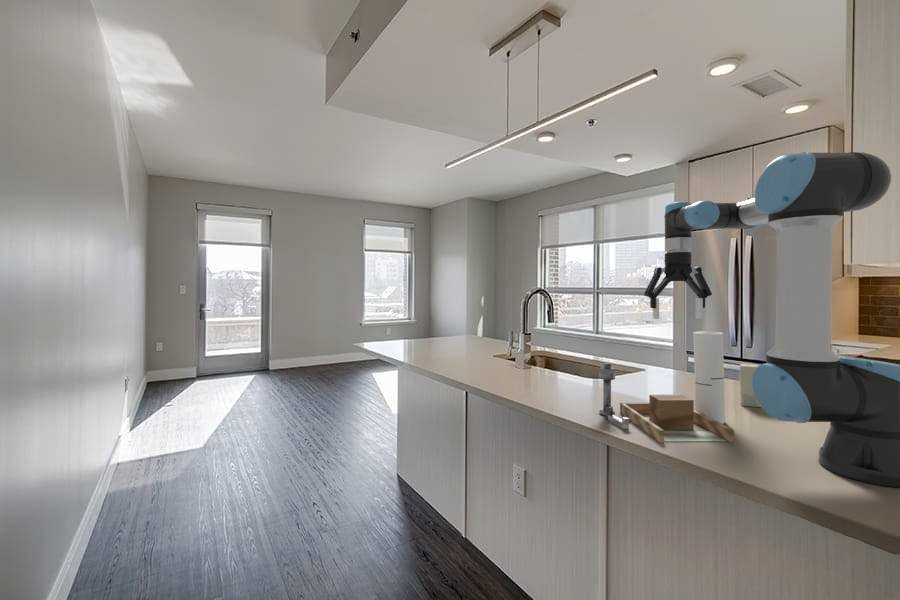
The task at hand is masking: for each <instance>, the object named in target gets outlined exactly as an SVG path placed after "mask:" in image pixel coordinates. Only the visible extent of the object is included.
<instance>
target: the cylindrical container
mask: <svg viewBox="0 0 900 600" xmlns="http://www.w3.org/2000/svg"><path fill="white" fill-rule="evenodd" d="M692 334H693V336H692V337H693V362H694V363H693V364H694V370H693V371H694V395H695V400H694V402H695V403H694V405H695V411H697V412H699V413H701V414H703V415H705V416H707V417H709V418H711V419H713V420H715V421H717V422H719V423H721V424H723V425H725V423H726V401H725V400H726V399H725V398H726V397H725V393H726V392H725V365H724V364H725V362H724V361H725V359H724V333H723V332H720V331H710V330H709V331H708V330H707V331H706V330H705V331H702V330H701V331H693V332H692Z"/></svg>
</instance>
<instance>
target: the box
mask: <svg viewBox="0 0 900 600" xmlns="http://www.w3.org/2000/svg"><path fill="white" fill-rule="evenodd" d="M758 366H759V365H758V364H748V363H747V364H746V363H740V364H739V387H740V388H739V389H740V390H739V393H740V394H739V396H740V399H739V400H740V401H739V402H740V406H744V407H753V408H760V407H761V405H760V403H758V401H757V399H756V397H755V394H754V391H753V387H752V375H753V372H754V371H756V370H755V369H756V368H757V367H758Z"/></svg>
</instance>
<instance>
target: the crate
mask: <svg viewBox="0 0 900 600" xmlns="http://www.w3.org/2000/svg"><path fill="white" fill-rule="evenodd" d="M648 398H649V400H648V401H649V402H648V403H649V415H648V416H649V417H648V418H649V419H648V420H649V421H651V422H652V423H654V424H655V425H657V426H658V427H660V428H661V429H663V430H664V431H665V430H666V431H671V430H672V431H674V430H675V431H680V430H681V431H685V430H687V431H694V423H695V422H694V410H695V408H694V407H695V406H694V405H695V403H694V402H695V400H694V399H693V398H690V397H688V396H686V395H683V394H682V393H681V394H679V393H678V394H676V393H675V394H649V397H648Z"/></svg>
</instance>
